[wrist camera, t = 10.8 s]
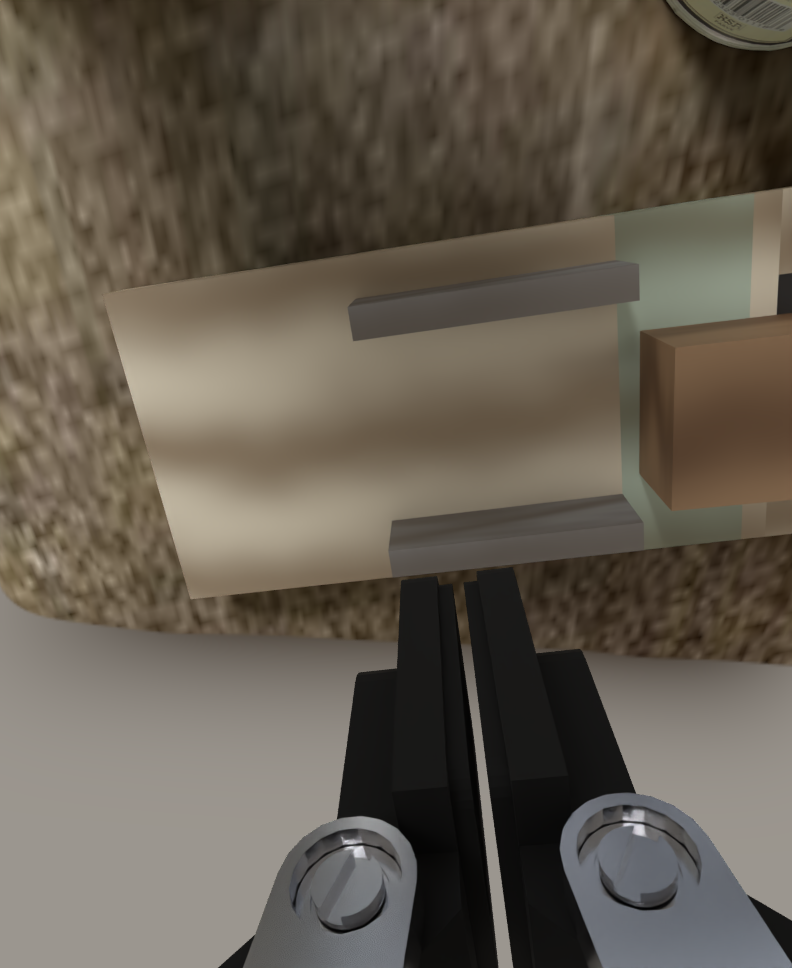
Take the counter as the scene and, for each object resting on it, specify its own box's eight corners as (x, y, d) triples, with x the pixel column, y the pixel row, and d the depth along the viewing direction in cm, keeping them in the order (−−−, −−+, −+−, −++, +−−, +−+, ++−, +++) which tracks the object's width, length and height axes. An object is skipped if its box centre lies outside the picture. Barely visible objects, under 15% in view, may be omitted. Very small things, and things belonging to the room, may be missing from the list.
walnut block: (639, 330, 26) (675, 347, 22) (799, 311, 26) (862, 326, 22) (639, 473, 28) (671, 511, 25) (786, 459, 28) (842, 495, 24)
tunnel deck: (133, 287, 29) (63, 302, 24) (1011, 151, 26) (1172, 130, 20) (210, 568, 34) (167, 635, 29) (958, 484, 31) (1076, 540, 25)
